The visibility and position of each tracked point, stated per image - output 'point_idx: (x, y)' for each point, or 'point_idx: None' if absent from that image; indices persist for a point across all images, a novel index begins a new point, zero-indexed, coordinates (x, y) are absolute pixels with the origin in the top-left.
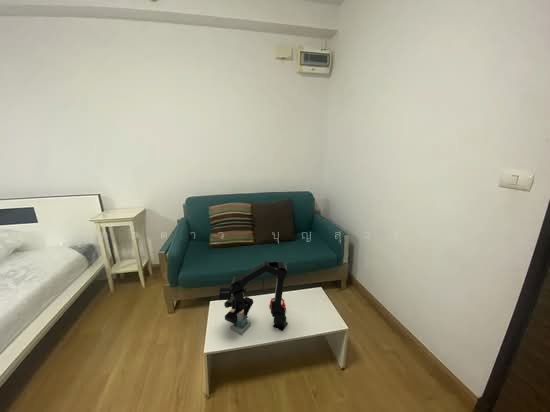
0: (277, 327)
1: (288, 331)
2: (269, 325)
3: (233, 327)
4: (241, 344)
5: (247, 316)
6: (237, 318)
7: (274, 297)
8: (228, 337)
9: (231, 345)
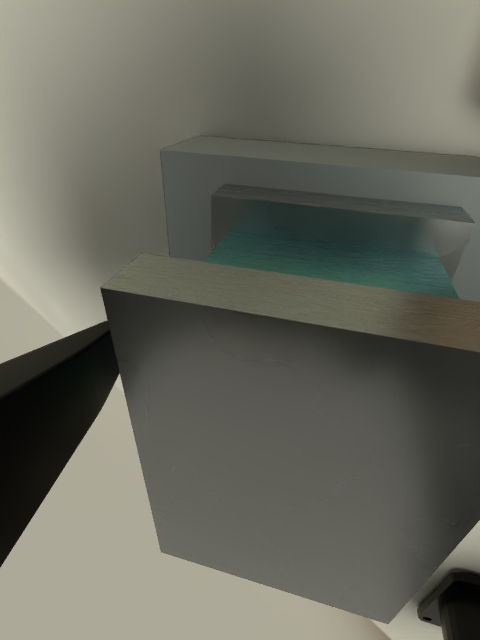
0: (444, 602)
1: (426, 628)
2: (470, 545)
3: (168, 233)
4: (117, 386)
5: (381, 620)
6: (179, 453)
7: None
8: (71, 201)
9: (38, 305)
